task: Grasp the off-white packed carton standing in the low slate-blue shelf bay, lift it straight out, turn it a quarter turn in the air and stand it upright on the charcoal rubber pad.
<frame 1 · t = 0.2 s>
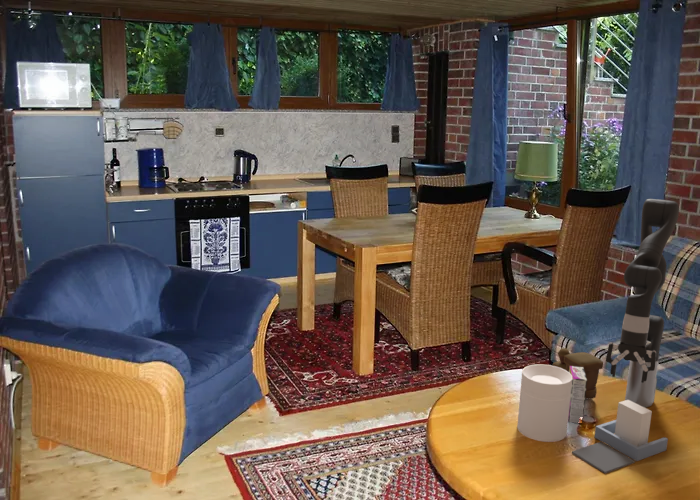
hand: (627, 379, 216), 23 cm above the table, tool pointing down, fingers open, 8 cm apart
candy bar box: (573, 416, 239), on the table
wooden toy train: (569, 394, 256), on the table
shelf bay: (630, 443, 221), on the table
canister: (541, 430, 229), on the table
packed carton: (632, 425, 220), in the shelf bay
rubber pad: (602, 457, 213), on the table
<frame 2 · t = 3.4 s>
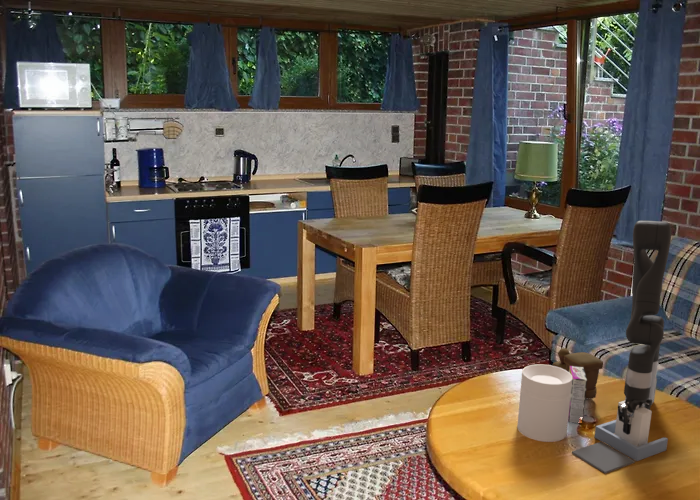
hand: (631, 431, 220), 4 cm above the table, tool pointing down, fingers closed on packed carton, 4 cm apart
packed carton: (632, 425, 220), in the shelf bay, touching gripper
everything else where it was.
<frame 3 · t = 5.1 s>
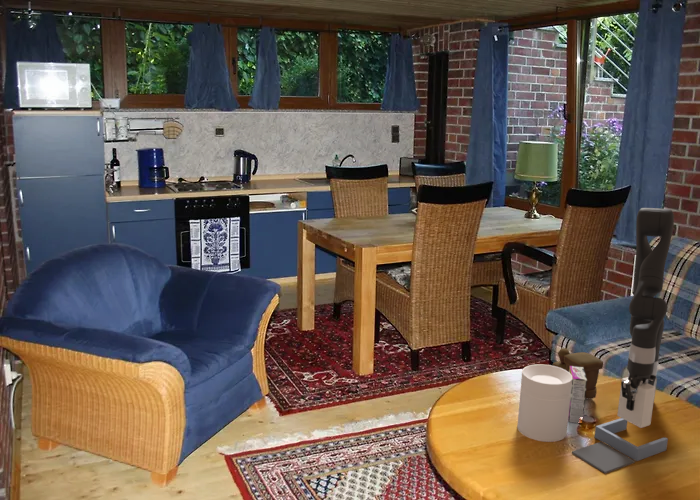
hand: (635, 407, 219), 13 cm above the table, tool pointing down, fingers closed on packed carton, 4 cm apart
packed carton: (636, 401, 218), point 15 cm above the table, touching gripper
everything else where it was.
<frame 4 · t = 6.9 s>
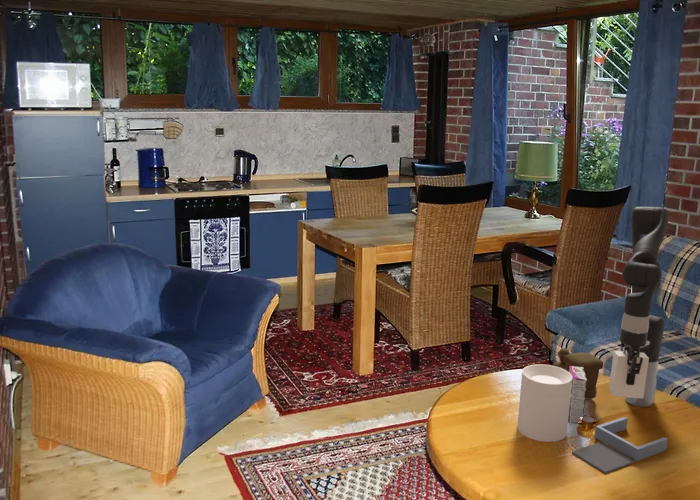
hand: (627, 380, 210), 24 cm above the table, tool pointing down, fingers closed on packed carton, 4 cm apart
packed carton: (628, 374, 209), point 26 cm above the table, touching gripper
everything else where it was.
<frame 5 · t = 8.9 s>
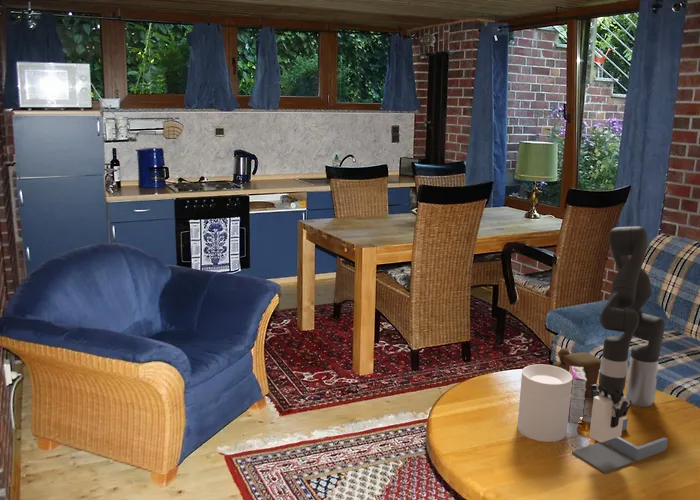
hand: (606, 423, 210), 12 cm above the table, tool pointing down, fingers closed on packed carton, 4 cm apart
packed carton: (607, 416, 209), point 14 cm above the table, touching gripper
everything else where it was.
when the fingers open (6 cm above the table, at t = 10.5 s): packed carton stays where it is, resting on rubber pad.
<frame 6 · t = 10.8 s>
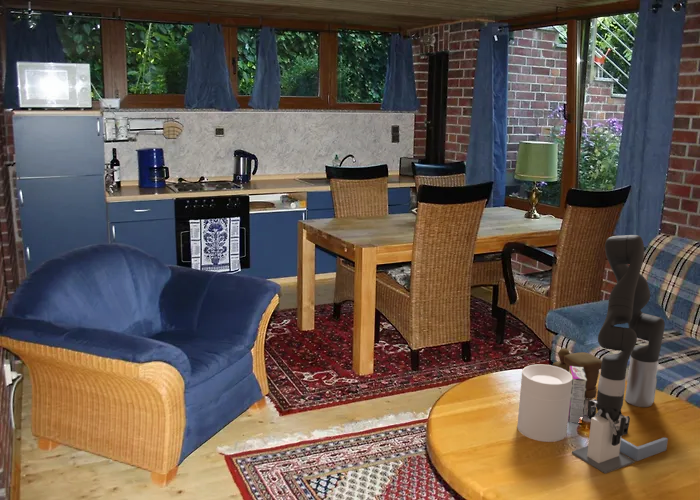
hand: (605, 439, 211), 6 cm above the table, tool pointing down, fingers open, 7 cm apart
packed carton: (605, 437, 211), on the rubber pad, point 7 cm above the table
everything else where it was.
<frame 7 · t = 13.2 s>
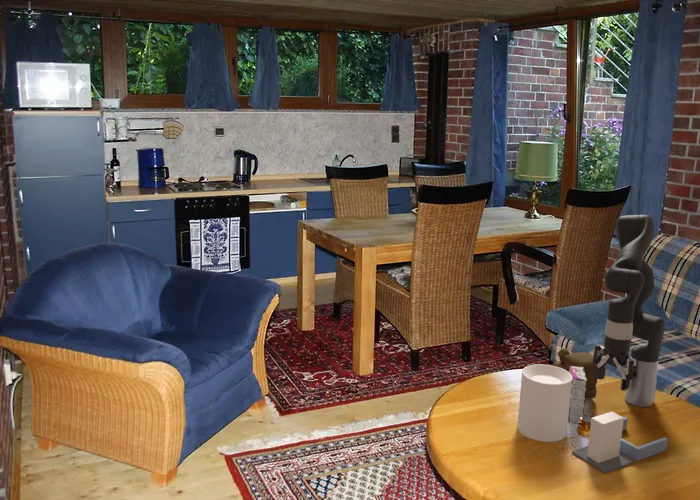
hand: (612, 384, 208), 24 cm above the table, tool pointing down, fingers open, 8 cm apart
nothing on the table moved.
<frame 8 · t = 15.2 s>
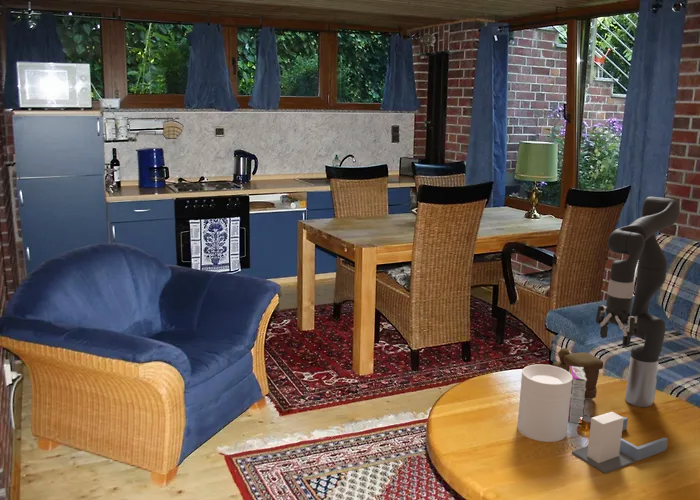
hand: (614, 341, 220), 32 cm above the table, tool pointing down, fingers open, 8 cm apart
nothing on the table moved.
at the end: packed carton inside the target area (0.0 cm from its centre), point 7.1 cm above the table; packed carton tilted 0°; the gripper is holding nothing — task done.
